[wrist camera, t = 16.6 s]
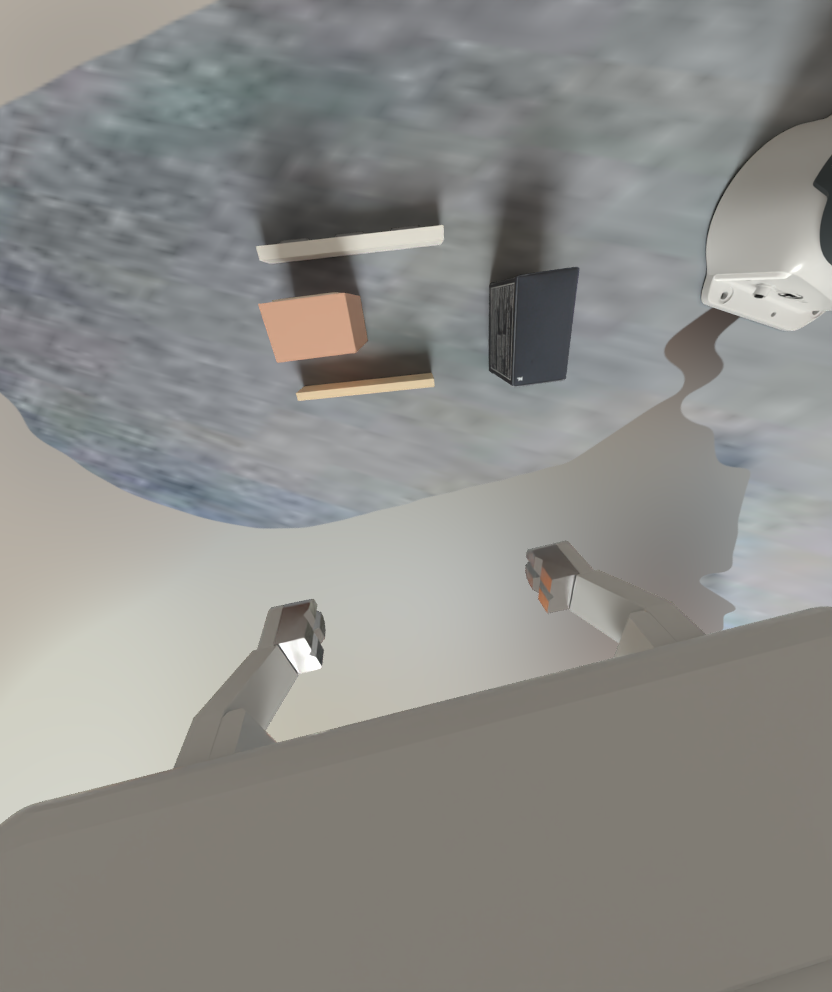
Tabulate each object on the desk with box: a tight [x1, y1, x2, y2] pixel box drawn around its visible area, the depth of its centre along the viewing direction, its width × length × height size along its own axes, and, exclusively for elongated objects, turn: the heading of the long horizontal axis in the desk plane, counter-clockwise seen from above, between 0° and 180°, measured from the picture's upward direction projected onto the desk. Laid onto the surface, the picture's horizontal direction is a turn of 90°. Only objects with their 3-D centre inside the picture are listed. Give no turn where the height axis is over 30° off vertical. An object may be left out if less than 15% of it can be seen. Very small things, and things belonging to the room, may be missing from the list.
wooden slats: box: [256, 225, 444, 401], centre depth 38 cm, size 20×16×4 cm
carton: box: [258, 292, 368, 363], centre depth 34 cm, size 5×8×12 cm, turn 96°
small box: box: [489, 267, 579, 387], centre depth 36 cm, size 11×6×10 cm, turn 7°
